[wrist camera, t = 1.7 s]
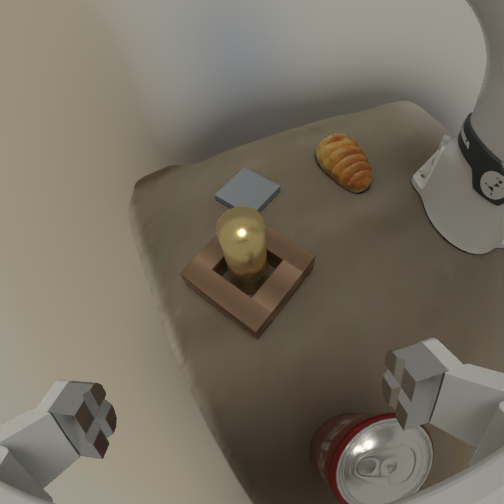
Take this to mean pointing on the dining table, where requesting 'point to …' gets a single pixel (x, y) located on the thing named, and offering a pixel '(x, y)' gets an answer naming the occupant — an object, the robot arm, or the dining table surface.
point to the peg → (244, 247)
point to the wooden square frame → (267, 297)
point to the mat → (247, 191)
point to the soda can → (371, 457)
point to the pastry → (344, 162)
